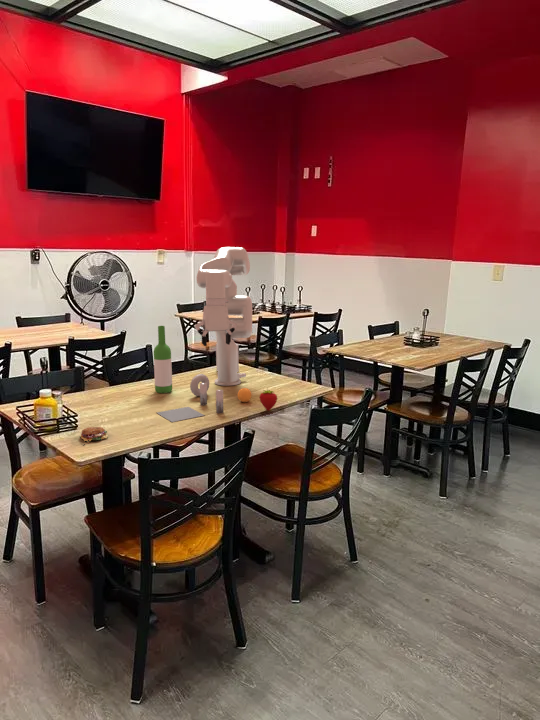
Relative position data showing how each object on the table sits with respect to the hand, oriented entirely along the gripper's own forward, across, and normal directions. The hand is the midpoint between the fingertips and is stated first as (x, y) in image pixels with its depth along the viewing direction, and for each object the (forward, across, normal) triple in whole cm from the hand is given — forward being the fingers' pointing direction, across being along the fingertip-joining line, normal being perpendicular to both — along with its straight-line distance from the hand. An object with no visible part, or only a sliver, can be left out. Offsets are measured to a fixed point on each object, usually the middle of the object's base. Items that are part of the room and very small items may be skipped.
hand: (216, 344), depth 216 cm
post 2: (+26, +2, +9) cm, 27 cm away
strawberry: (+26, -17, +14) cm, 34 cm away
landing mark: (+26, +17, +6) cm, 31 cm away
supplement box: (+26, -23, -57) cm, 67 cm away
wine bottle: (+26, +16, -30) cm, 43 cm away
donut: (+26, +3, -17) cm, 31 cm away
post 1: (+26, +5, -4) cm, 26 cm away
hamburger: (+26, +51, +22) cm, 62 cm away
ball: (+23, -12, -1) cm, 26 cm away
